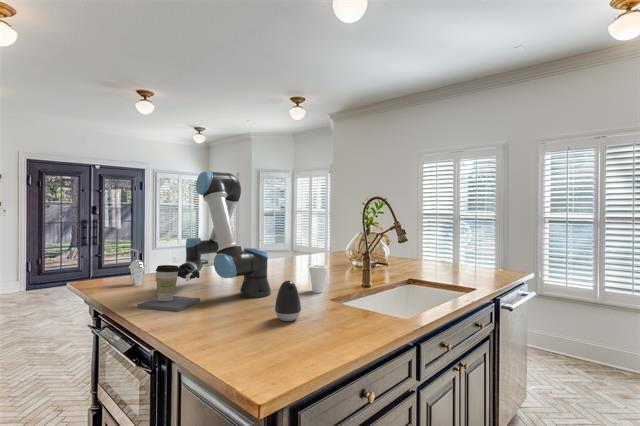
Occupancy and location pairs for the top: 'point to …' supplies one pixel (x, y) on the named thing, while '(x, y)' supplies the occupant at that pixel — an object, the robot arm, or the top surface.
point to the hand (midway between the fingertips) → (171, 278)
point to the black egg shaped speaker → (287, 302)
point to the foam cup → (318, 277)
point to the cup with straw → (137, 270)
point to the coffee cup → (166, 281)
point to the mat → (169, 303)
